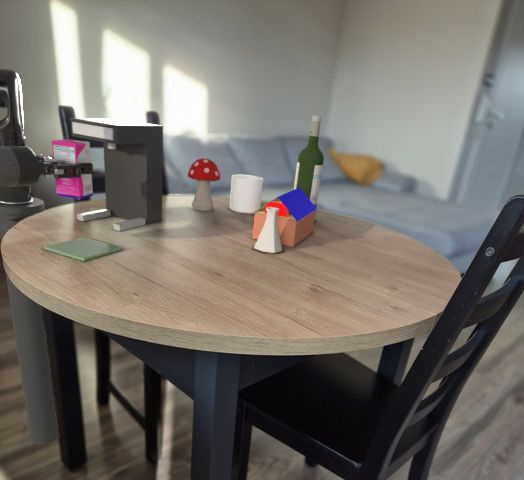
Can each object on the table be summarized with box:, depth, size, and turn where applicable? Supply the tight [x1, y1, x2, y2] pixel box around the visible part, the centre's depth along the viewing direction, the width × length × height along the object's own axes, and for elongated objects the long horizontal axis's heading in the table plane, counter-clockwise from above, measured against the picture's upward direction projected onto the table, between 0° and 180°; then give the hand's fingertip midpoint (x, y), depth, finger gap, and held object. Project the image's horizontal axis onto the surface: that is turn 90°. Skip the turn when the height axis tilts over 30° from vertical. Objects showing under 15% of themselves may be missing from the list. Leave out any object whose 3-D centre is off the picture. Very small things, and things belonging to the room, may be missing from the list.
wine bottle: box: [293, 114, 325, 220], centre depth 147 cm, size 8×8×30 cm
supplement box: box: [51, 138, 94, 201], centre depth 105 cm, size 6×6×12 cm
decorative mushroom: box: [187, 157, 221, 212], centre depth 148 cm, size 10×9×15 cm
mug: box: [228, 173, 264, 215], centre depth 156 cm, size 13×10×10 cm
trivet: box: [43, 236, 122, 262], centre depth 104 cm, size 11×11×1 cm
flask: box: [253, 207, 283, 254], centre depth 117 cm, size 7×7×10 cm
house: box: [251, 187, 318, 248], centre depth 131 cm, size 12×20×12 cm, turn 160°
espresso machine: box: [69, 117, 164, 232], centre depth 123 cm, size 14×18×24 cm
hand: (80, 165), depth 107 cm, fingers closed on supplement box, 7 cm apart
